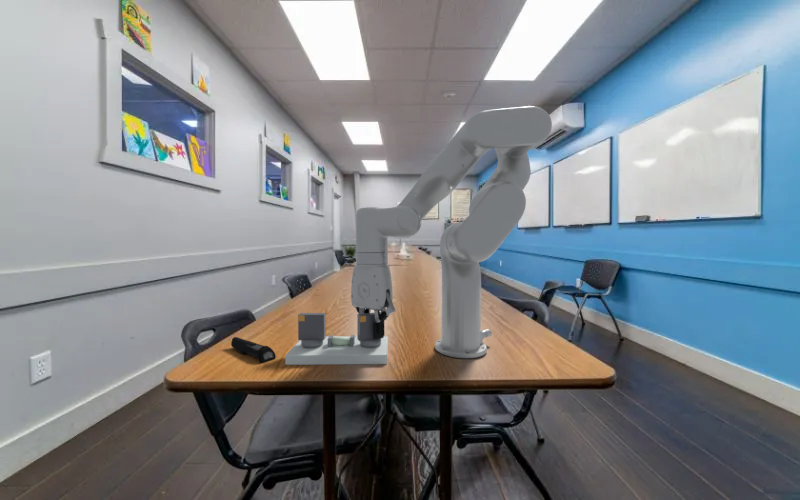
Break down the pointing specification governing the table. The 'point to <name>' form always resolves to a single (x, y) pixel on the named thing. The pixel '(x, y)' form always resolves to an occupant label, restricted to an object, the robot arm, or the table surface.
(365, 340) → the knob
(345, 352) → the level plate
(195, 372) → the table surface
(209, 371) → the table surface
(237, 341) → the electric trimmer
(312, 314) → the knob
